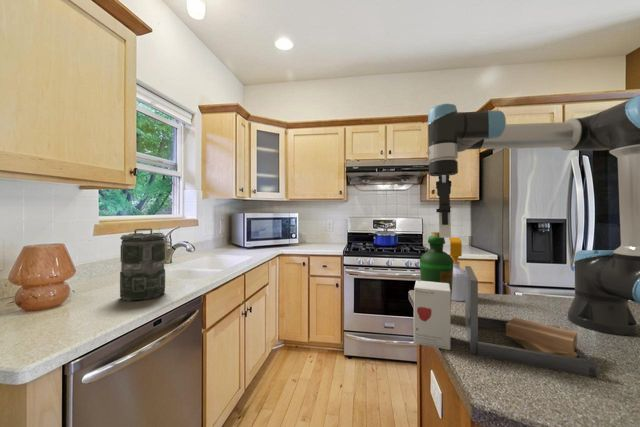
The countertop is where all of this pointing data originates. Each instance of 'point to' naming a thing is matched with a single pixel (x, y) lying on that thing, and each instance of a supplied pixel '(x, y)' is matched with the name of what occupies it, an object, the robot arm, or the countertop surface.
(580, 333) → the countertop surface
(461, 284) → the soap bottle
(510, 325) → the offcut upper
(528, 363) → the stand
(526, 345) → the offcut lower
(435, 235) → the bottle
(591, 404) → the countertop surface
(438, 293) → the supplement box
